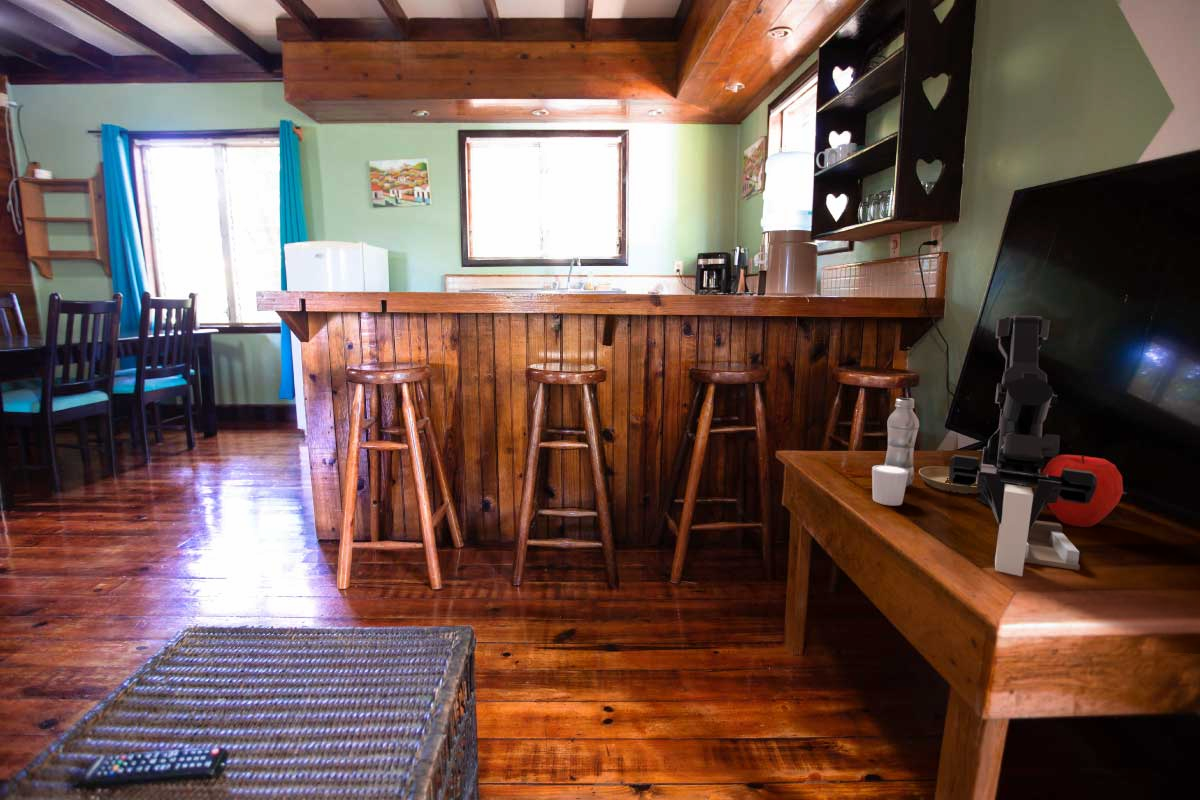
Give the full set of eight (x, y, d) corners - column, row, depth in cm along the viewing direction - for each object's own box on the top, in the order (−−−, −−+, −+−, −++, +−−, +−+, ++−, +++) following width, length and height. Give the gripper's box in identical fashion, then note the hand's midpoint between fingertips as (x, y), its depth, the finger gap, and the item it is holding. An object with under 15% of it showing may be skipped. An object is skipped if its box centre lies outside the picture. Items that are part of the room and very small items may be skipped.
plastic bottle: (902, 480, 135) (910, 396, 131) (919, 489, 128) (928, 401, 125) (875, 480, 135) (883, 396, 131) (891, 490, 128) (899, 401, 124)
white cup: (862, 497, 123) (864, 466, 122) (886, 493, 125) (889, 463, 124) (888, 508, 117) (891, 475, 115) (913, 504, 119) (916, 471, 118)
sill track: (999, 537, 102) (1001, 516, 102) (1058, 545, 99) (1061, 523, 98) (1013, 560, 93) (1016, 537, 93) (1079, 570, 90) (1082, 546, 89)
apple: (1095, 515, 113) (1105, 449, 111) (1132, 538, 102) (1144, 466, 100) (1026, 509, 116) (1034, 445, 114) (1054, 531, 105) (1064, 461, 103)
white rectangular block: (994, 560, 93) (1004, 483, 91) (1020, 565, 91) (1031, 487, 89) (995, 570, 90) (1005, 491, 87) (1022, 576, 88) (1033, 495, 86)
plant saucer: (1006, 499, 123) (1008, 487, 122) (932, 495, 125) (933, 484, 125) (974, 478, 137) (975, 468, 137) (908, 475, 139) (909, 465, 139)
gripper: (956, 407, 95) (945, 489, 88) (1104, 420, 85) (1106, 514, 77) (953, 443, 103) (943, 521, 95) (1088, 459, 92) (1088, 548, 85)
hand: (1014, 525), depth 88 cm, fingers closed on white rectangular block, 3 cm apart
